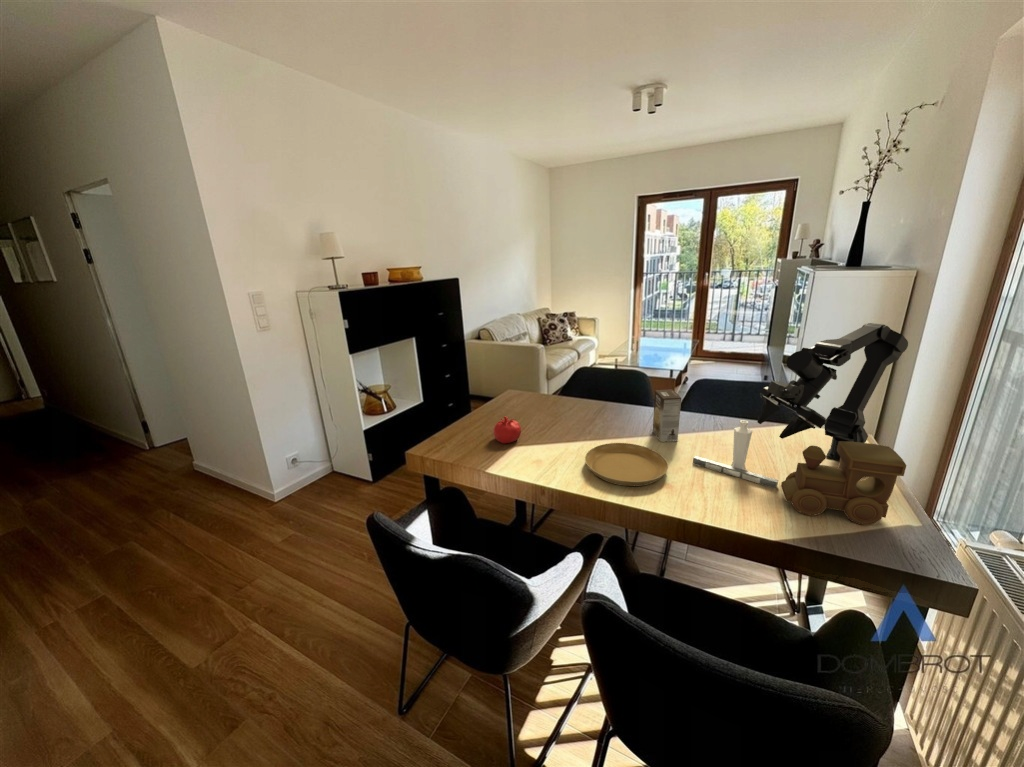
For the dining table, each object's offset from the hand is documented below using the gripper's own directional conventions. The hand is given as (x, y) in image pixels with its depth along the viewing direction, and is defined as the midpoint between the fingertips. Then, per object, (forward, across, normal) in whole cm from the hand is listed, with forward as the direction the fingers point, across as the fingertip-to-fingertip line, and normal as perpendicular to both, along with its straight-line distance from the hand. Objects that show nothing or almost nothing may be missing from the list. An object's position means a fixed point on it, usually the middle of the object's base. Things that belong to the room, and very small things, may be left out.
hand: (769, 430), depth 112 cm
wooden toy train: (+8, +18, +12) cm, 23 cm away
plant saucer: (+33, -8, -22) cm, 41 cm away
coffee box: (+22, -28, -5) cm, 36 cm away
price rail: (+16, 0, +1) cm, 16 cm away
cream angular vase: (+14, -3, +4) cm, 15 cm away
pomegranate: (+54, -35, -50) cm, 81 cm away
